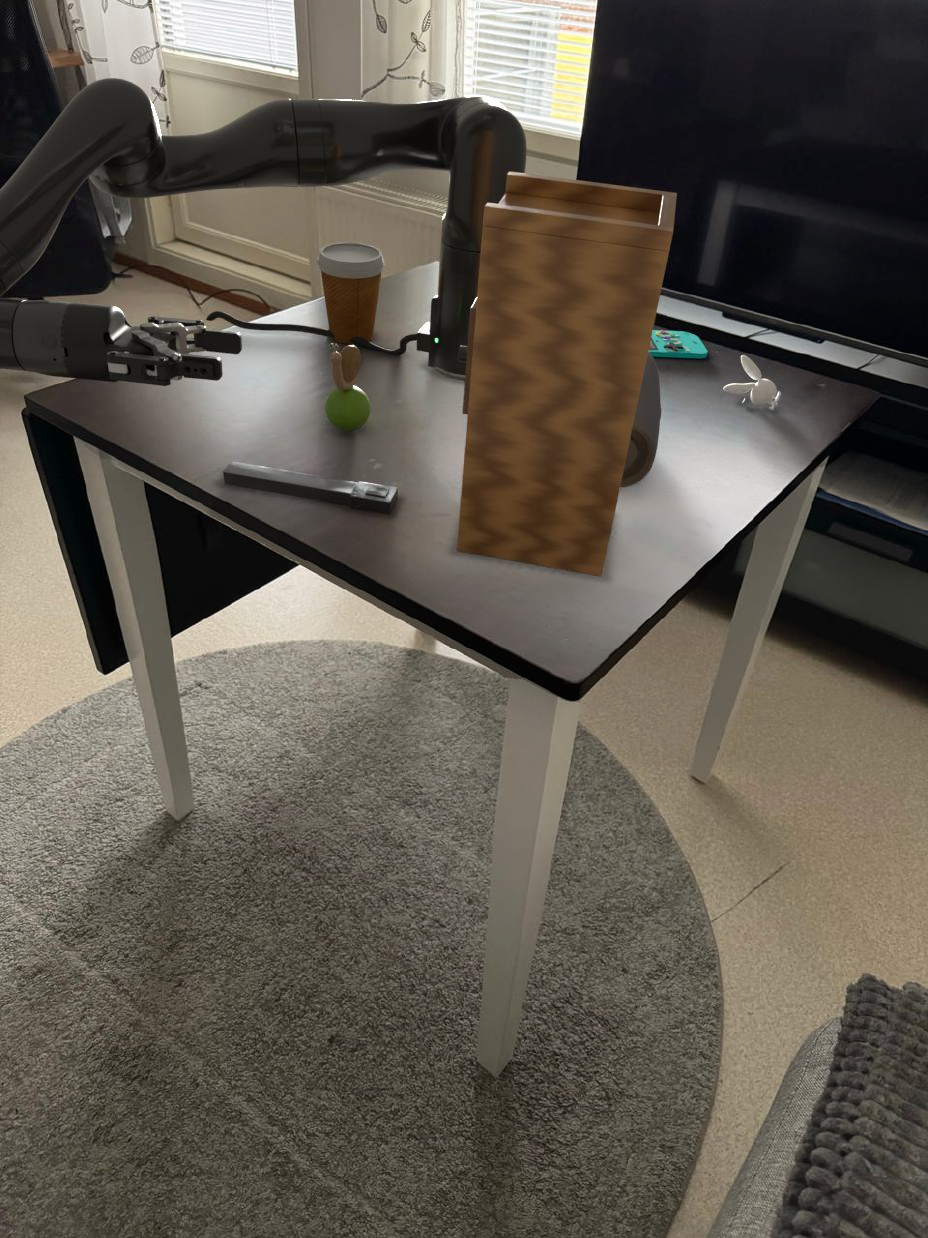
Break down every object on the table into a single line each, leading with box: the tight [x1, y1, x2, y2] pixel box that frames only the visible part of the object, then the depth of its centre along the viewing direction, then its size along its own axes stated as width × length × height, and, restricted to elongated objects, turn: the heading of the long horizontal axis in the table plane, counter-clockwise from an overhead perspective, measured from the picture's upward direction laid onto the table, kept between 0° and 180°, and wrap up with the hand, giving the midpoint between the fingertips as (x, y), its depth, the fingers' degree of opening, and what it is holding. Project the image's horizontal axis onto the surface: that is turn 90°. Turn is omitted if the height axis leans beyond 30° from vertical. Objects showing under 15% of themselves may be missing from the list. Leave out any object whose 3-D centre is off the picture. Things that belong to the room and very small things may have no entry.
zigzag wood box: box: [456, 171, 678, 577], centre depth 87 cm, size 17×12×34 cm
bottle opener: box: [222, 460, 399, 516], centre depth 100 cm, size 19×3×2 cm, turn 78°
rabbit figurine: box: [723, 354, 782, 412], centre depth 125 cm, size 6×4×8 cm
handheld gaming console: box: [649, 329, 708, 359], centre depth 139 cm, size 8×1×15 cm
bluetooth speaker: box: [620, 351, 662, 489], centre depth 110 cm, size 23×9×10 cm, turn 170°
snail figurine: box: [324, 342, 371, 432], centre depth 108 cm, size 5×6×12 cm
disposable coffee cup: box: [316, 241, 386, 345], centre depth 131 cm, size 10×10×12 cm
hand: (231, 355), depth 94 cm, fingers open, 8 cm apart
